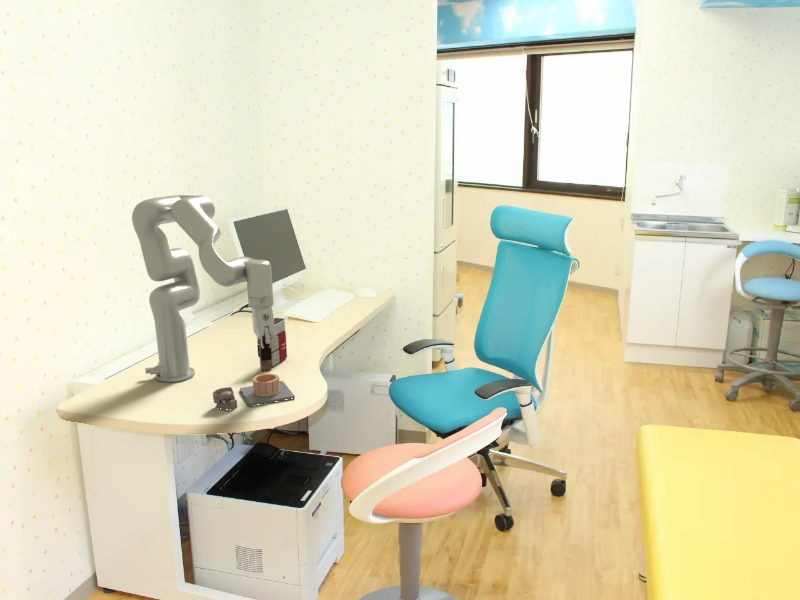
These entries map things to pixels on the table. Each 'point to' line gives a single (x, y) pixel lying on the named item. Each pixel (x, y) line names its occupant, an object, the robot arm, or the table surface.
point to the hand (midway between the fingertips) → (264, 357)
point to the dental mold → (225, 398)
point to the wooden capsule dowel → (264, 364)
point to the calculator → (278, 342)
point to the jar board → (266, 390)
